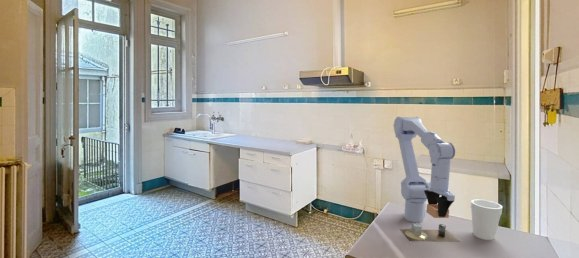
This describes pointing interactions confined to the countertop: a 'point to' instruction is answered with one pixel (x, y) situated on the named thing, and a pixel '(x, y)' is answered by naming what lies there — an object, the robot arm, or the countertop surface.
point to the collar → (435, 211)
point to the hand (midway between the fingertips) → (437, 213)
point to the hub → (416, 233)
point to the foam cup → (485, 218)
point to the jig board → (434, 236)
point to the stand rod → (441, 230)
